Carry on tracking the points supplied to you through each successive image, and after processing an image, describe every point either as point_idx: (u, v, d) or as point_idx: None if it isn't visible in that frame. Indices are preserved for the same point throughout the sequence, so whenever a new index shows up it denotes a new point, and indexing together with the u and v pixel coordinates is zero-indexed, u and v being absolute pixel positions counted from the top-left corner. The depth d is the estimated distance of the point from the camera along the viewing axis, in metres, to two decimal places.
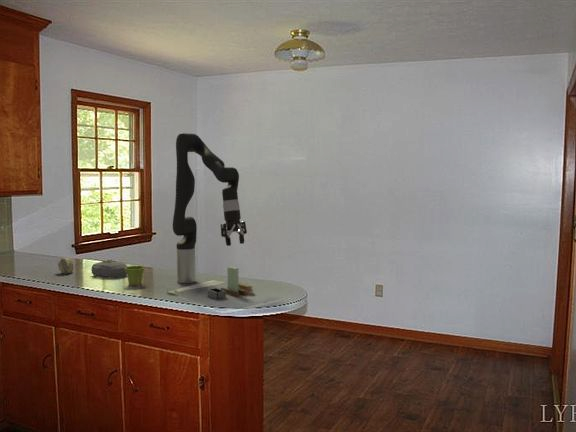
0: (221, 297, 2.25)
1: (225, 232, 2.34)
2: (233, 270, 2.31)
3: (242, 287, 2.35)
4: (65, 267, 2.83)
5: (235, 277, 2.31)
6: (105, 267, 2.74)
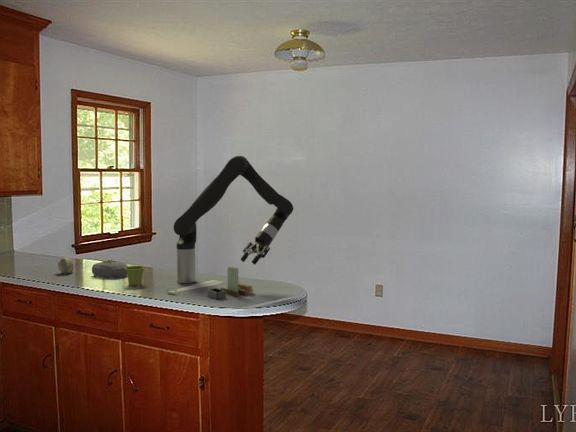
0: (221, 297, 2.25)
1: None
2: (233, 270, 2.31)
3: (242, 287, 2.35)
4: (65, 267, 2.83)
5: (235, 277, 2.31)
6: (105, 267, 2.73)
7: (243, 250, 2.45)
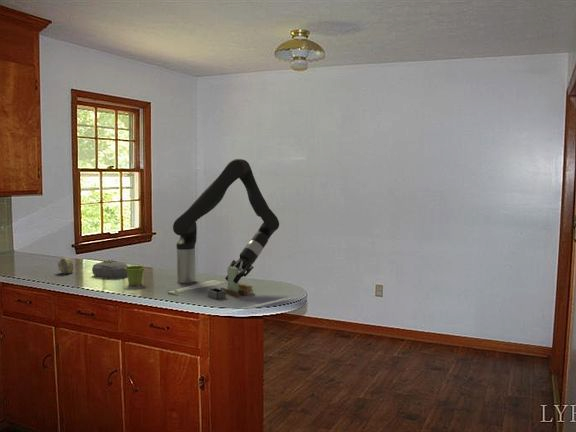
0: (221, 297, 2.25)
1: None
2: (233, 270, 2.31)
3: (242, 287, 2.35)
4: (65, 267, 2.83)
5: None
6: (106, 267, 2.73)
7: None
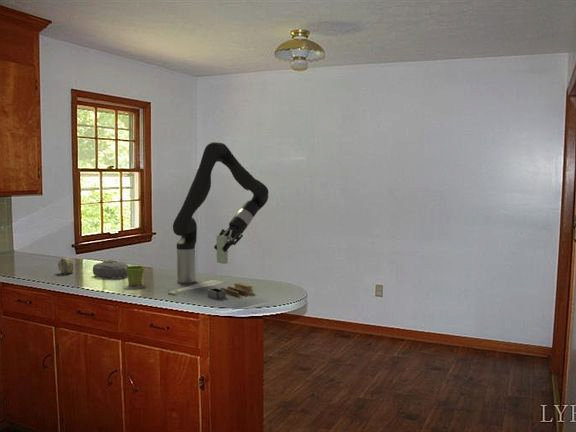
0: (221, 297, 2.25)
1: None
2: (222, 238, 2.26)
3: (242, 287, 2.35)
4: (65, 267, 2.83)
5: None
6: (106, 267, 2.73)
7: None
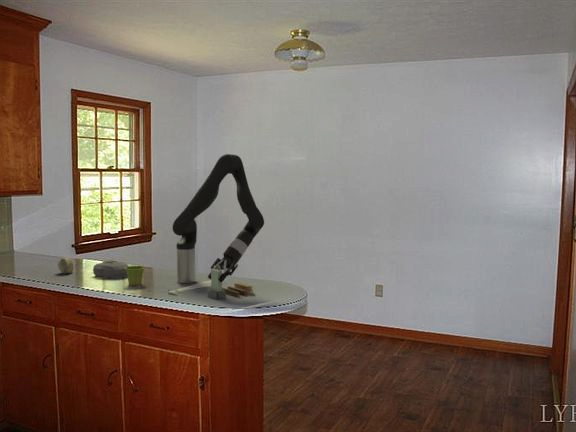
0: (221, 297, 2.25)
1: None
2: (216, 273, 2.25)
3: (242, 287, 2.35)
4: (65, 267, 2.83)
5: None
6: (107, 268, 2.72)
7: (211, 267, 2.33)
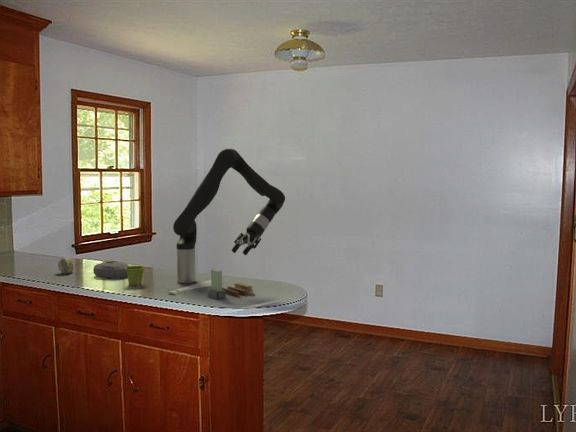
0: (221, 297, 2.25)
1: None
2: (216, 273, 2.25)
3: (242, 287, 2.35)
4: (65, 267, 2.83)
5: (219, 280, 2.25)
6: (107, 268, 2.72)
7: (234, 241, 2.41)
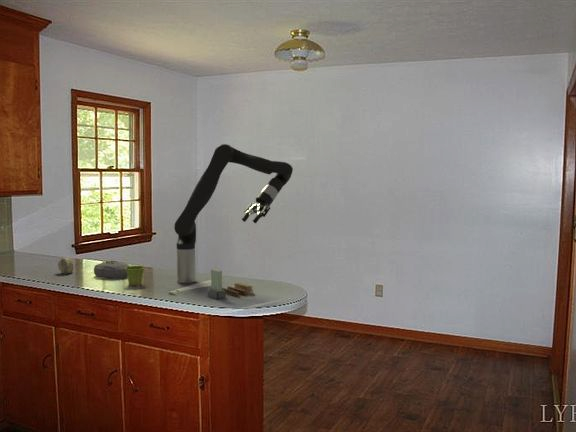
0: (221, 297, 2.25)
1: None
2: (216, 273, 2.25)
3: (242, 287, 2.35)
4: (65, 267, 2.83)
5: (219, 280, 2.25)
6: (108, 268, 2.72)
7: (244, 211, 2.51)
